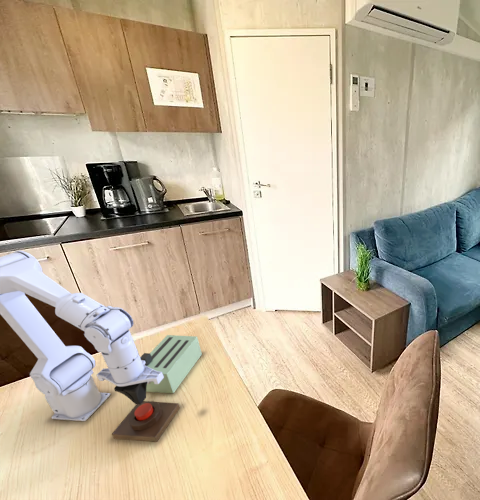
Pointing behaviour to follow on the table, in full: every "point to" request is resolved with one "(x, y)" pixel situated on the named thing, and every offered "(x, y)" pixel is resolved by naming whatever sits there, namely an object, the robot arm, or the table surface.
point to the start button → (143, 411)
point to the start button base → (147, 423)
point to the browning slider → (146, 358)
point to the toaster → (173, 361)
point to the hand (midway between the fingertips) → (140, 400)
